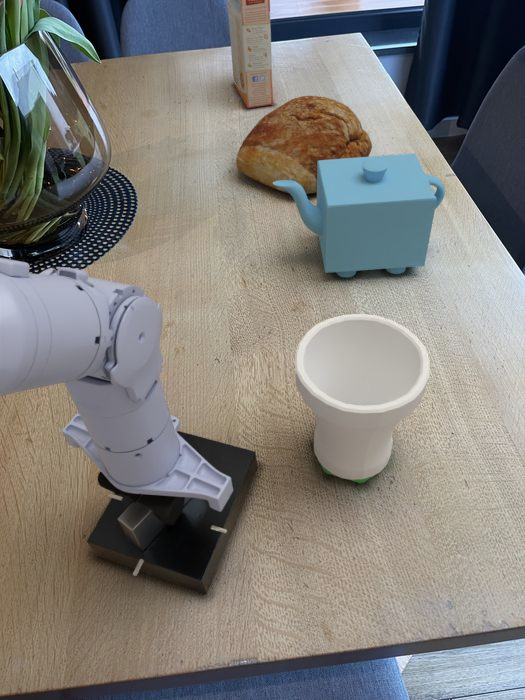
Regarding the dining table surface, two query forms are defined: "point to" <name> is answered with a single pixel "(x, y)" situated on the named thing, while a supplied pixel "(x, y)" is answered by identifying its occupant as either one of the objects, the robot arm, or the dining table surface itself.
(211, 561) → the switch base
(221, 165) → the dining table surface
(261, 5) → the cracker box
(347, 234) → the teapot
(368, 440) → the cup
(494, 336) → the dining table surface
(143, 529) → the red-topped metal block
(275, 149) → the bread
